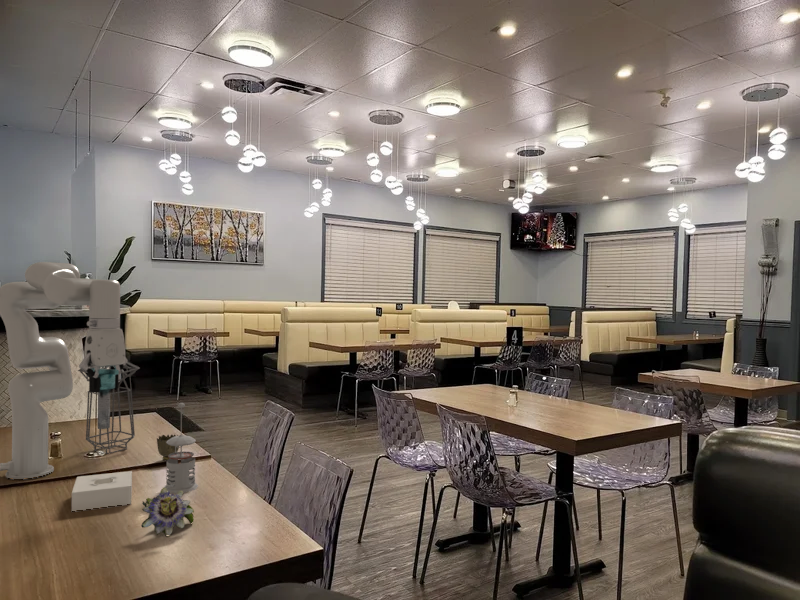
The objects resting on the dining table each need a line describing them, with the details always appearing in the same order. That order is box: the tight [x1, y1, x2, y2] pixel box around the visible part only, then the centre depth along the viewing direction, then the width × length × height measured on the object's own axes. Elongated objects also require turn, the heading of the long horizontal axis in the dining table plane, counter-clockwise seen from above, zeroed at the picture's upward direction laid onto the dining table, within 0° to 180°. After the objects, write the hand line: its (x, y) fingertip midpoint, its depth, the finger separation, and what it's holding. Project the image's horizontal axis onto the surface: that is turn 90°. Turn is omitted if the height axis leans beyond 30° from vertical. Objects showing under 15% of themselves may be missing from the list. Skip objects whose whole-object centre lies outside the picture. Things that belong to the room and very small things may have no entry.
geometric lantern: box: [77, 361, 141, 455], centre depth 206 cm, size 16×16×35 cm
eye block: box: [71, 470, 133, 512], centre depth 158 cm, size 14×14×5 cm
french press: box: [163, 402, 199, 494], centre depth 169 cm, size 10×12×25 cm
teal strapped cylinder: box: [93, 367, 120, 430], centre depth 158 cm, size 9×6×16 cm, turn 69°
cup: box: [156, 433, 180, 461], centre depth 195 cm, size 8×7×8 cm
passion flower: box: [141, 486, 195, 536], centre depth 139 cm, size 11×11×12 cm
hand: (104, 389), depth 158 cm, fingers closed on teal strapped cylinder, 5 cm apart
